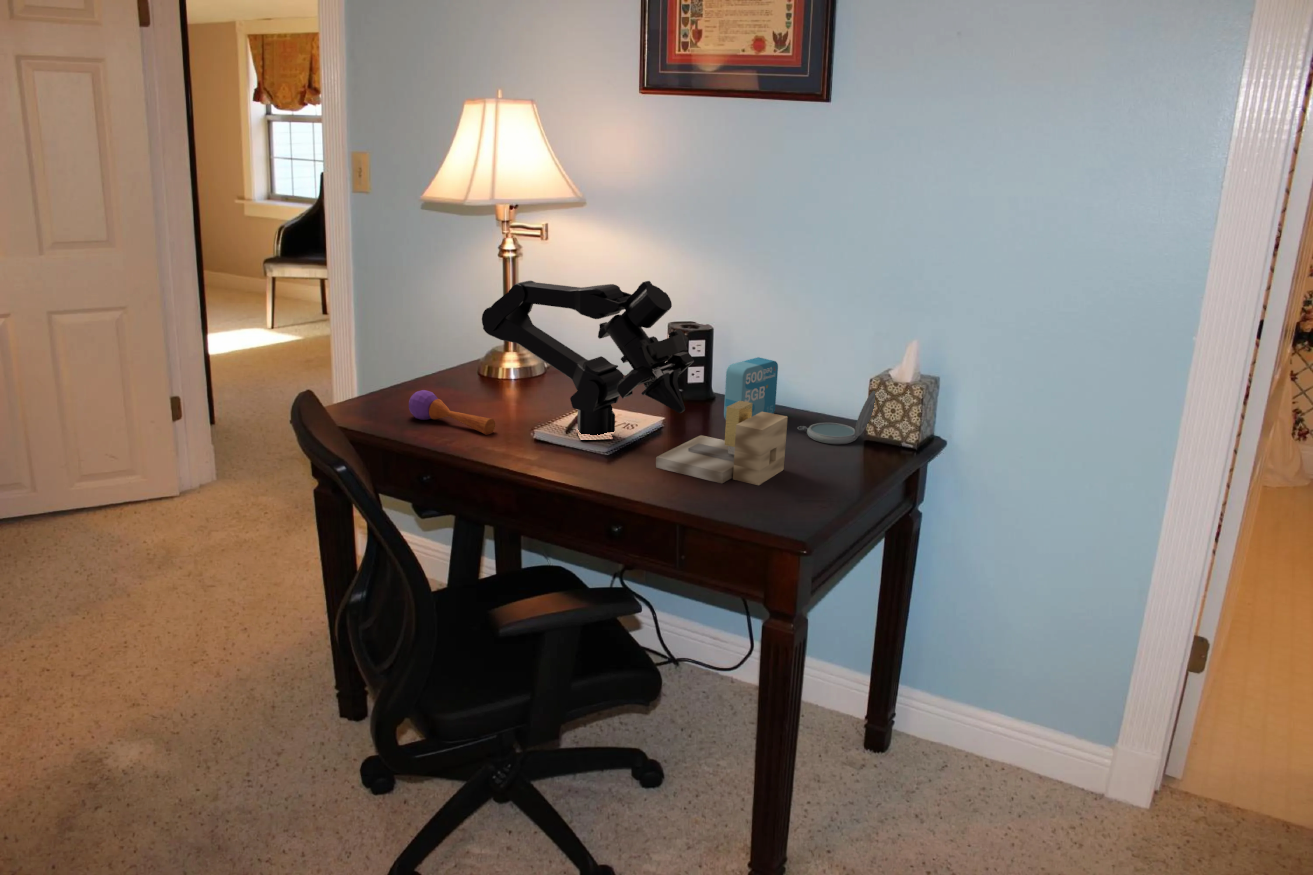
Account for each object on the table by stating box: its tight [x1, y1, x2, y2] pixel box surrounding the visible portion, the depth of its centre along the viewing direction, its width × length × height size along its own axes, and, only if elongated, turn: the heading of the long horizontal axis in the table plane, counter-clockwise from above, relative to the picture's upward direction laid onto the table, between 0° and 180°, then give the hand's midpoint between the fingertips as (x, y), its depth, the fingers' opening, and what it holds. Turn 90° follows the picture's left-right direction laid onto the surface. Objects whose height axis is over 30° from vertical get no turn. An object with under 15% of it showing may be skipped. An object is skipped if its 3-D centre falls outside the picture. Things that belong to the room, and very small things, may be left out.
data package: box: [723, 356, 779, 420], centre depth 220 cm, size 12×4×12 cm, turn 138°
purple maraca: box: [408, 389, 496, 436], centre depth 210 cm, size 6×6×20 cm
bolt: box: [724, 401, 752, 455], centre depth 188 cm, size 7×5×9 cm
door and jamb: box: [655, 412, 789, 486], centre depth 191 cm, size 19×16×10 cm
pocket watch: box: [797, 390, 875, 445], centre depth 210 cm, size 10×11×15 cm
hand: (682, 411), depth 195 cm, fingers closed
